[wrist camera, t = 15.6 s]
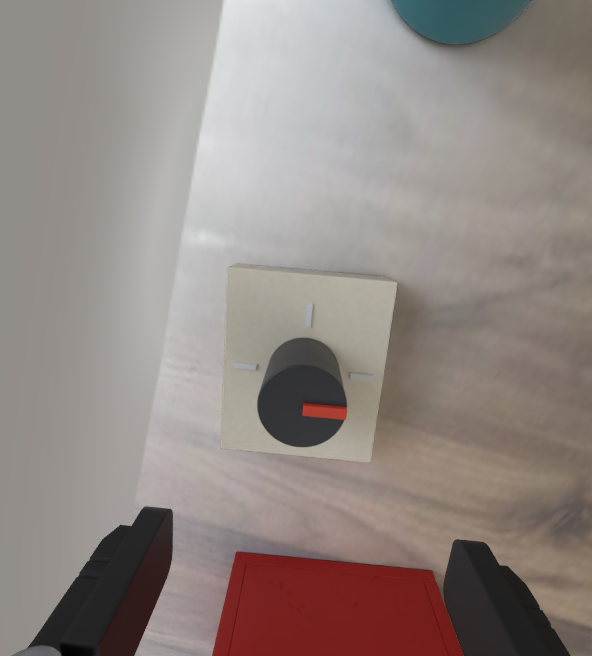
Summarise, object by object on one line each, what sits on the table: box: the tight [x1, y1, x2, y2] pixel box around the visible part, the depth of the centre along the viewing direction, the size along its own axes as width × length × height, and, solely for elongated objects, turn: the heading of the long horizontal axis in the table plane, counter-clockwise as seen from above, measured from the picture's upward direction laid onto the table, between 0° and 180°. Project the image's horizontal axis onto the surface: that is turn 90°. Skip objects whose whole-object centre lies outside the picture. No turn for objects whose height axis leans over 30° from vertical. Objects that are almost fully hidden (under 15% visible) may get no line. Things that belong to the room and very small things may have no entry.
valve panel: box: [220, 264, 398, 463], centre depth 24 cm, size 10×12×3 cm
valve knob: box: [257, 338, 347, 447], centre depth 20 cm, size 4×4×5 cm
